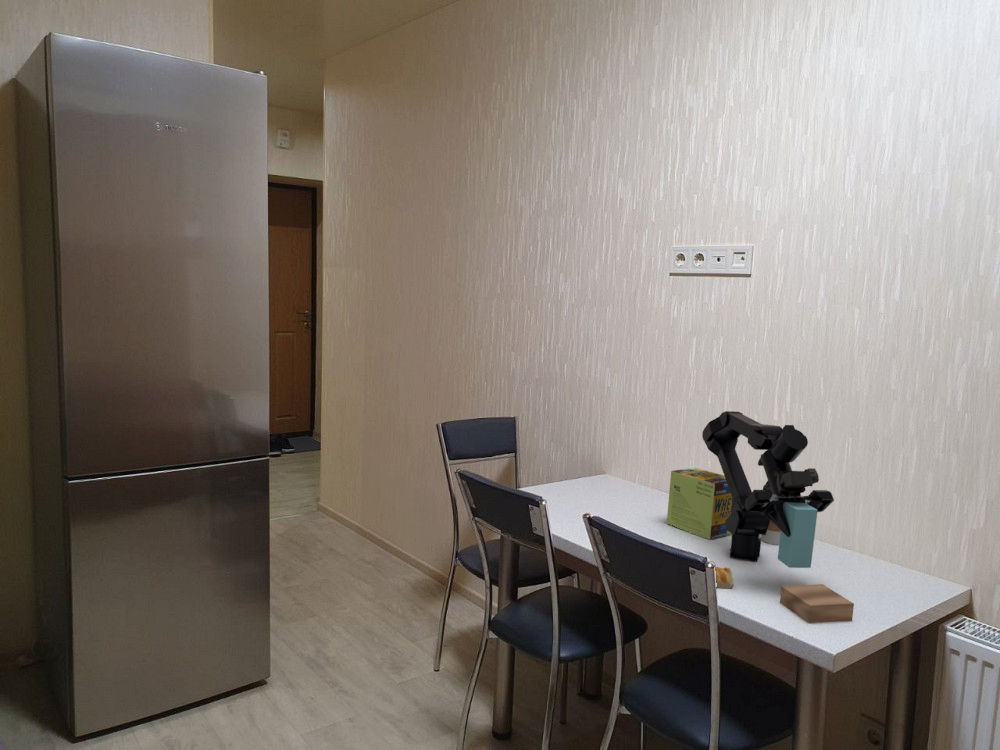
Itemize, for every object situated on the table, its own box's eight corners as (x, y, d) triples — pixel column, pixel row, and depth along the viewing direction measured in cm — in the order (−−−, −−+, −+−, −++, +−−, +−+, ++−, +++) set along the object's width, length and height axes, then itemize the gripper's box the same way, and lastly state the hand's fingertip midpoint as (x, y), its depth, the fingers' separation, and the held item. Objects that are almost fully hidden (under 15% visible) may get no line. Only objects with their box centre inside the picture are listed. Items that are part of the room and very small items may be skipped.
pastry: (693, 588, 167) (694, 571, 166) (685, 577, 173) (686, 561, 173) (735, 590, 167) (737, 573, 166) (725, 578, 174) (727, 562, 173)
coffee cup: (793, 540, 203) (798, 486, 201) (785, 548, 196) (790, 492, 194) (761, 533, 207) (766, 480, 206) (752, 541, 200) (757, 486, 199)
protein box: (710, 540, 199) (715, 483, 198) (665, 524, 212) (670, 470, 210) (735, 534, 206) (739, 479, 204) (690, 519, 218) (694, 466, 216)
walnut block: (779, 604, 161) (781, 586, 160) (820, 602, 163) (822, 584, 163) (808, 624, 151) (810, 605, 151) (851, 622, 153) (853, 603, 153)
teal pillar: (777, 559, 168) (784, 502, 166) (798, 559, 168) (805, 502, 167) (789, 567, 163) (796, 509, 161) (810, 567, 164) (817, 509, 162)
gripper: (755, 454, 165) (776, 518, 156) (833, 455, 168) (859, 518, 159) (735, 479, 174) (754, 542, 164) (810, 480, 177) (833, 542, 167)
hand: (800, 535), depth 163 cm, fingers closed on teal pillar, 5 cm apart
